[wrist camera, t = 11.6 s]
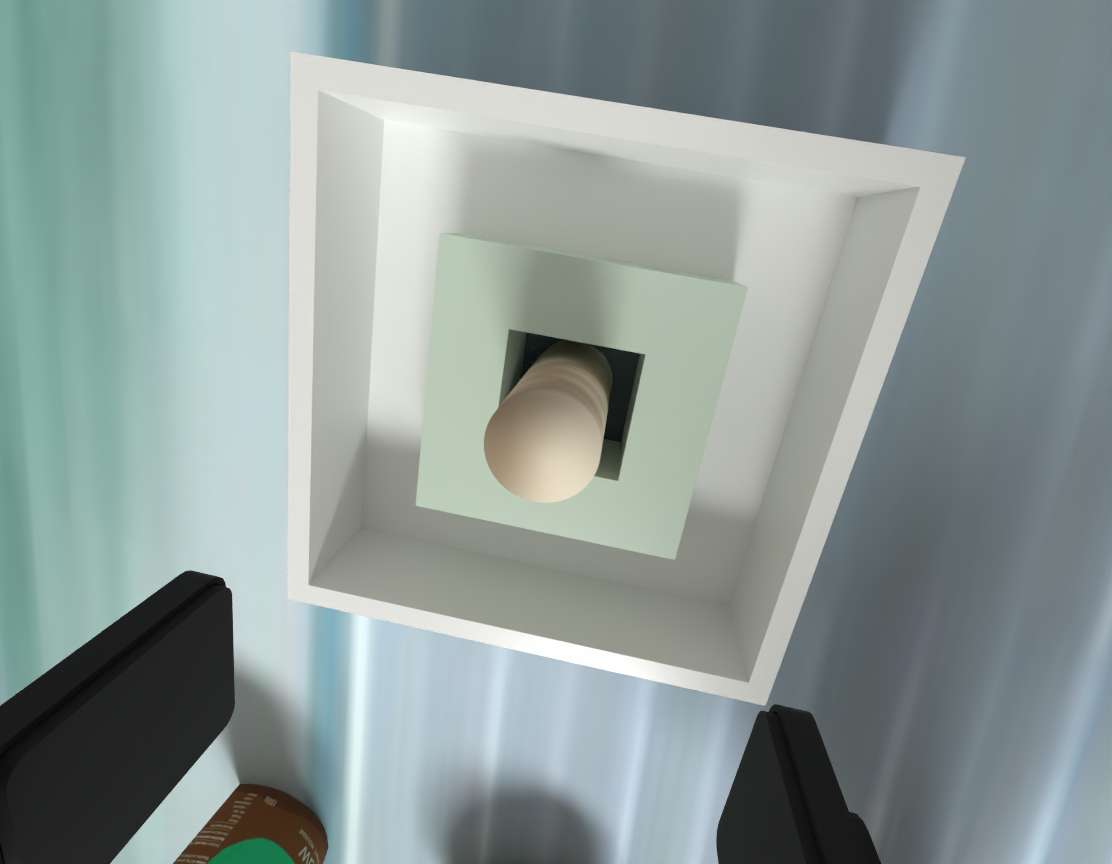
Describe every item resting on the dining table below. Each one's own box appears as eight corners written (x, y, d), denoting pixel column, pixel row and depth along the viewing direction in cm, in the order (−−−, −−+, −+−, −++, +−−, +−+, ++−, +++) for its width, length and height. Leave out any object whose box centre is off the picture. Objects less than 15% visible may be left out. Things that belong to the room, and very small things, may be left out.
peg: (619, 347, 28) (611, 404, 19) (604, 424, 30) (589, 513, 20) (539, 332, 28) (491, 381, 19) (527, 409, 30) (477, 490, 20)
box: (876, 178, 24) (965, 157, 18) (738, 608, 32) (765, 705, 25) (377, 98, 26) (290, 51, 19) (355, 527, 33) (287, 598, 27)
